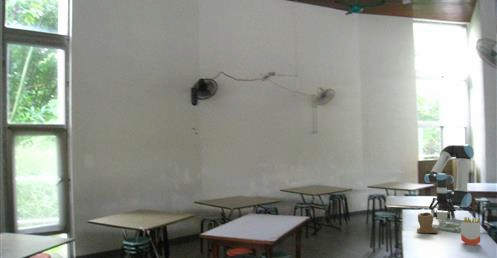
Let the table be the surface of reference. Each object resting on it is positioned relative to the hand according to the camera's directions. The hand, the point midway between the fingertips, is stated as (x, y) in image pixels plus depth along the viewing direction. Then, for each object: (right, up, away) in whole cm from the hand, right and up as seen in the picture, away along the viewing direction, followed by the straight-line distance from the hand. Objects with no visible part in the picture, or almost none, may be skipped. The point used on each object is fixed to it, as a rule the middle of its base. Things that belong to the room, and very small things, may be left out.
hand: (442, 218), depth 336 cm
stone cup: (-23, -5, -27) cm, 36 cm away
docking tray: (-1, -4, -16) cm, 17 cm away
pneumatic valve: (0, -5, 0) cm, 5 cm away
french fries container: (-9, -4, -59) cm, 60 cm away
